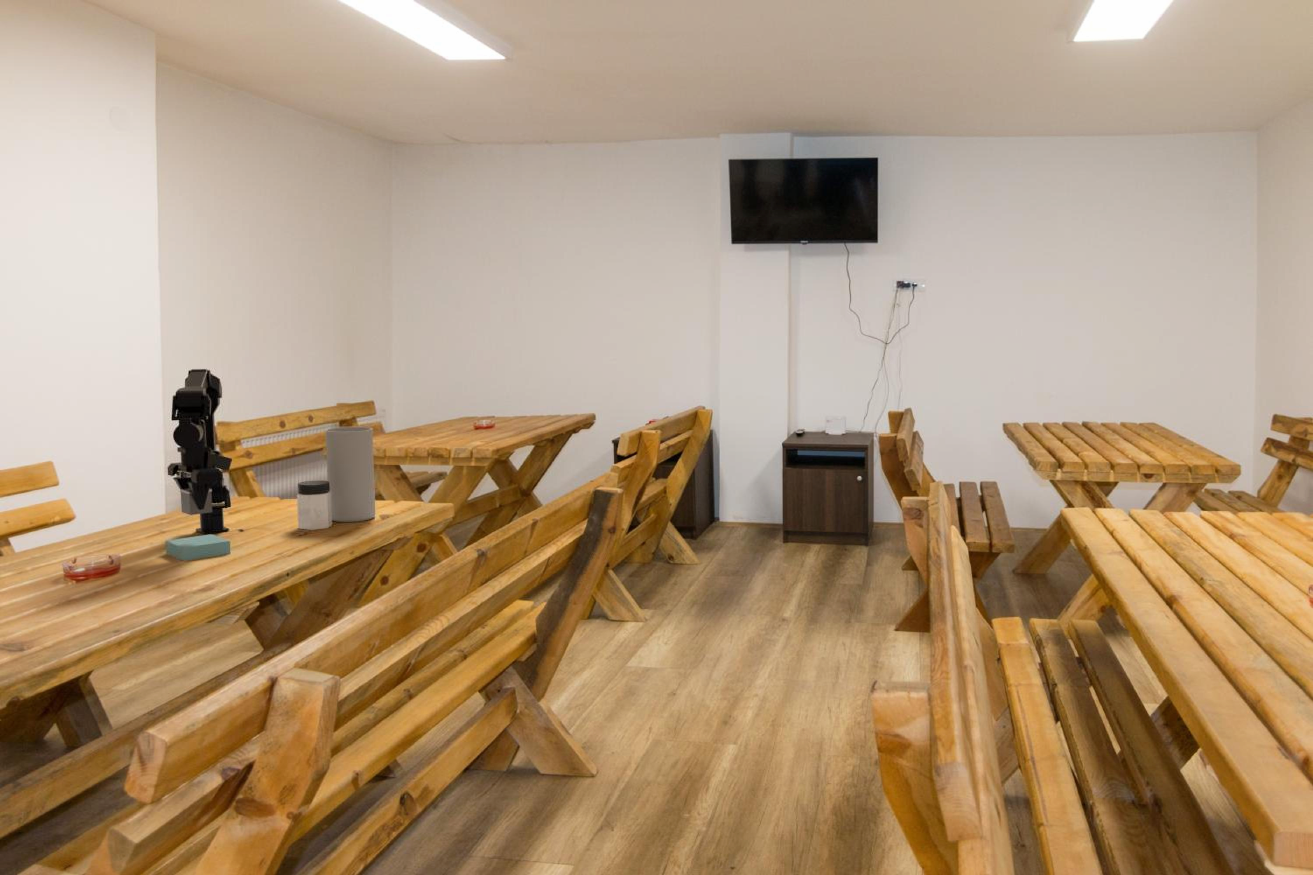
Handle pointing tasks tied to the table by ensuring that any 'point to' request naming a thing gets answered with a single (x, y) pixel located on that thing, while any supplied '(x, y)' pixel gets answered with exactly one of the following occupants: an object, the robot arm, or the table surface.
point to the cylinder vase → (351, 473)
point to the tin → (190, 504)
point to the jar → (314, 505)
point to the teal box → (197, 547)
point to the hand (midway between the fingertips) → (196, 507)
